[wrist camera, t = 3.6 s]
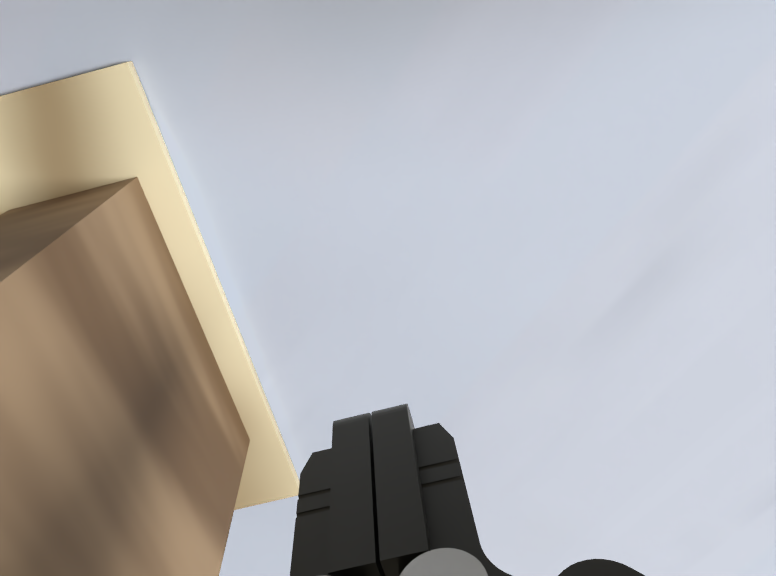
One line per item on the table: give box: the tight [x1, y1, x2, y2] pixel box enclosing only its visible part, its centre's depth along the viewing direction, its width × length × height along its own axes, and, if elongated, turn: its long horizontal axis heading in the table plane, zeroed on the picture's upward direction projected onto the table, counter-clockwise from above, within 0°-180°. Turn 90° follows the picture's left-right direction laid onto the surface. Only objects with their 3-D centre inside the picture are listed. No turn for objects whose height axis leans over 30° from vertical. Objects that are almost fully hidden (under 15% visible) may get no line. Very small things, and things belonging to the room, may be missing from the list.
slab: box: [0, 177, 250, 576], centre depth 14 cm, size 4×10×12 cm, turn 13°
